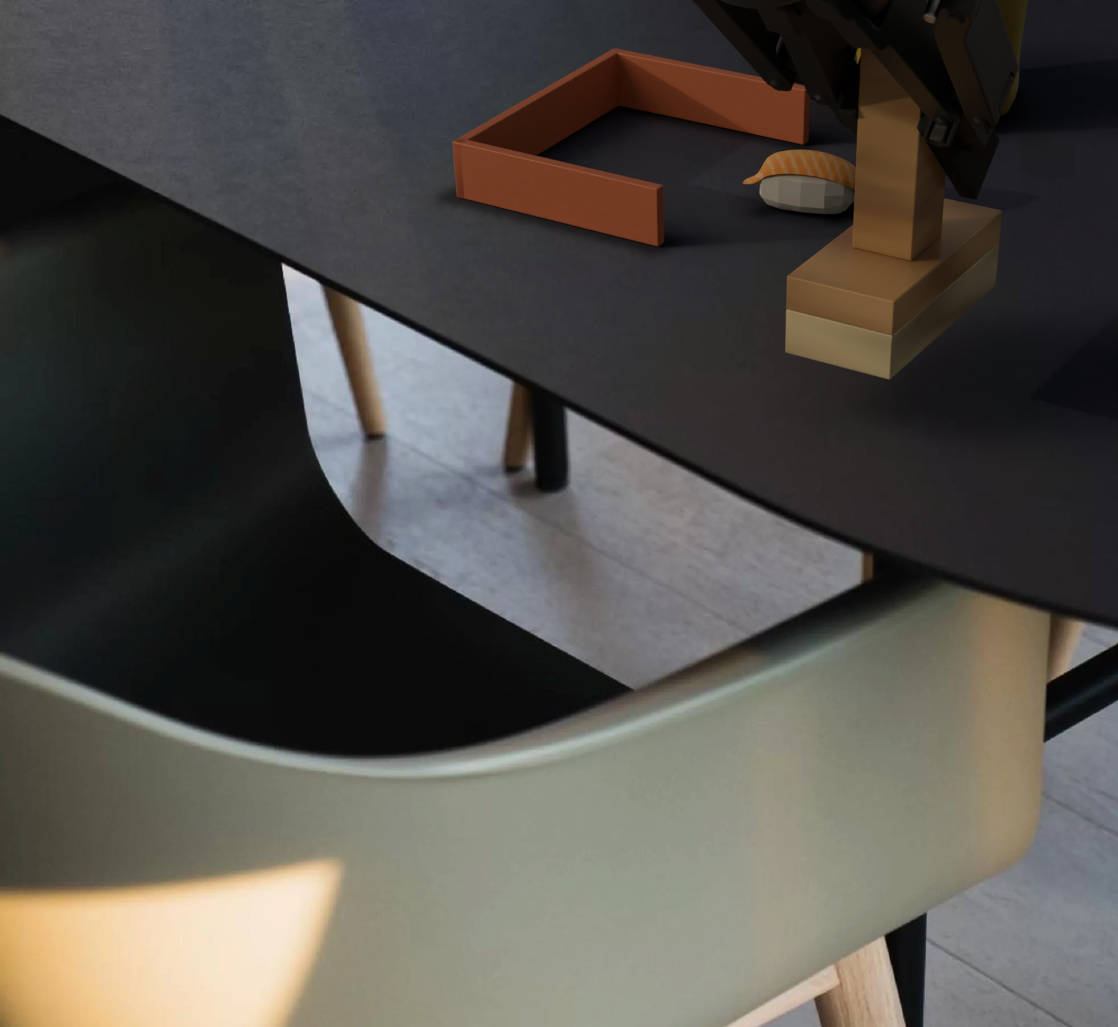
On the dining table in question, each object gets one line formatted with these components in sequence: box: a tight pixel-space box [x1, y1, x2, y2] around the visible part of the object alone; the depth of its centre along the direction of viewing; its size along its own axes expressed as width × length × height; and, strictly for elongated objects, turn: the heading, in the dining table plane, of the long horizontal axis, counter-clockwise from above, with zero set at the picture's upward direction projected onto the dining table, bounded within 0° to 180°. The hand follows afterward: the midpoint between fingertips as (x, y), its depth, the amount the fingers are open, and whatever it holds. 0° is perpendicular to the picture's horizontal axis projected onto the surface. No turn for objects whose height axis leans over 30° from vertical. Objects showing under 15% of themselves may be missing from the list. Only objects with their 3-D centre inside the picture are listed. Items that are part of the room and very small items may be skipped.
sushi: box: [742, 149, 856, 215], centre depth 104 cm, size 3×6×3 cm, turn 70°
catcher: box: [452, 47, 811, 247], centre depth 109 cm, size 13×15×3 cm
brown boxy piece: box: [784, 48, 1003, 380], centre depth 84 cm, size 10×5×16 cm, turn 145°
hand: (942, 160), depth 88 cm, fingers closed on brown boxy piece, 3 cm apart
